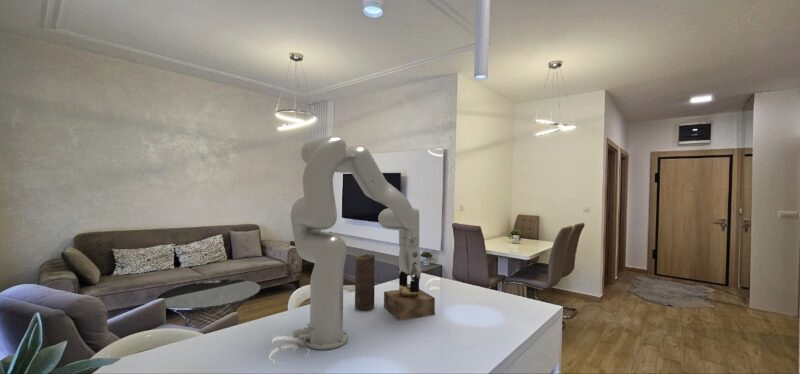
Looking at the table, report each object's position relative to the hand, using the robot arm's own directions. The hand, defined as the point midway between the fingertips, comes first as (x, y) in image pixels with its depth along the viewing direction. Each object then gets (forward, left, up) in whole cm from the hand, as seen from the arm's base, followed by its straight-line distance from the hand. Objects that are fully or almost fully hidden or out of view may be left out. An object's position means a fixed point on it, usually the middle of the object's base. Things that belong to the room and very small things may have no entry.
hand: (408, 288), depth 128 cm
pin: (0, 0, -8) cm, 8 cm away
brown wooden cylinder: (-14, +9, -8) cm, 19 cm away
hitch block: (0, 0, -8) cm, 8 cm away
